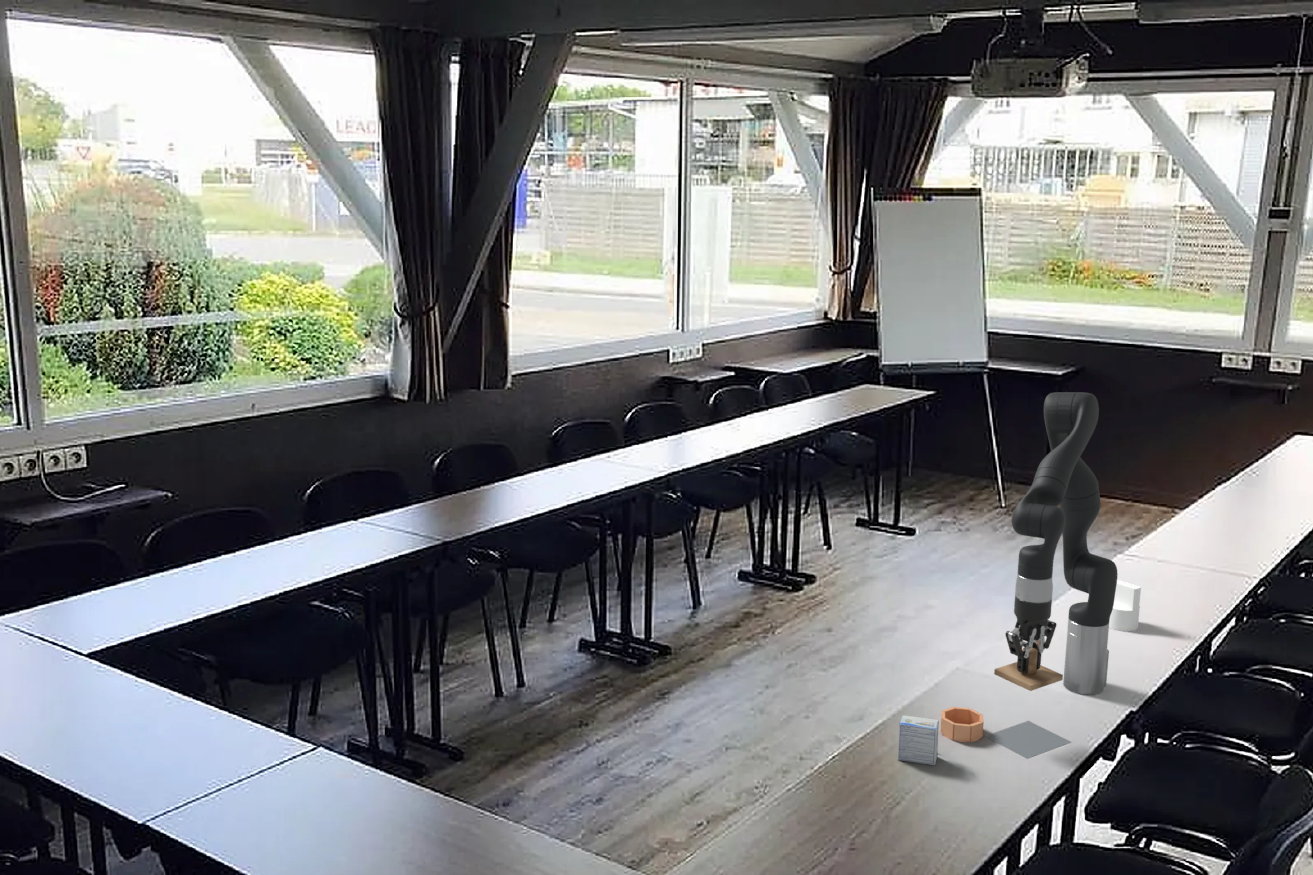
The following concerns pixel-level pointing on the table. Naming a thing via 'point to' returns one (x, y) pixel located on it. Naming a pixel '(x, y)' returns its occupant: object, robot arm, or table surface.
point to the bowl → (962, 724)
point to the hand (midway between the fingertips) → (1028, 670)
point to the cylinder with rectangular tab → (1125, 607)
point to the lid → (1029, 674)
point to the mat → (1028, 739)
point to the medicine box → (918, 740)
